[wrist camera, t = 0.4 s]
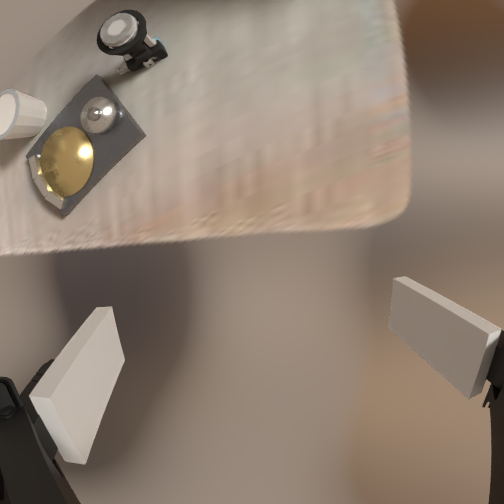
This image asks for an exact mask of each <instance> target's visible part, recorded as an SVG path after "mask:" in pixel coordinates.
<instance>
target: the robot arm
mask: <svg viewBox="0 0 504 504" xmlns="http://www.w3.org/2000/svg"><path fill="white" fill-rule="evenodd" d="M388 329H389V330H390V331H392V332H393V333H394V334H395V335H396V336H397V337H398V338H400V339H401V340H402V341H403V342H404V343H405V344H407V345H408V346H409V347H410V348H411V349H412V350H413V351H415V352H416V353H417V354H418V355H419V356H420V357H421V358H423V359H424V360H425V361H426V362H427V363H428V364H429V365H431V366H432V367H433V368H434V369H435V370H436V371H437V372H439V373H440V374H441V375H442V376H443V377H444V378H445V379H447V380H448V381H449V382H450V383H451V384H452V385H453V386H454V387H456V388H457V389H458V390H459V391H460V392H461V393H462V394H463V395H464V396H466V397H467V398H468V399H470V398H472V397H474V396H476V395H478V394H479V393H481V392H482V389H483V387H484V384H485V381H486V379H487V380H488V381H490V382H491V385H490V388H489V390H488V393H487V395H486V398H485V401H484V403H483V407H485V405H486V403H487V402H490V404H489V406H488V407H489V408H490V416H491V438H492V439H491V445H492V456H491V457H492V458H491V484H490V495H489V504H504V331H503V330H501V329H500V328H499V327H497V326H495V325H494V324H492V323H490V322H488V321H487V320H485V319H483V318H481V317H480V316H478V315H476V314H474V313H473V312H471V311H469V310H467V309H465V308H463V307H462V306H460V305H458V304H456V303H454V302H453V301H450V300H449V299H447V298H445V297H443V296H442V295H440V294H438V293H436V292H434V291H432V290H430V289H429V288H426V287H425V286H423V285H421V284H419V283H417V282H415V281H413V280H411V279H410V278H407V277H399V278H393V289H392V300H391V309H390V319H389V327H388ZM124 361H125V359H124V356H123V352H122V348H121V344H120V340H119V336H118V332H117V328H116V323H115V319H114V314H113V310H112V307H97V308H96V309H95V310H94V311H93V312H92V314H91V315H90V316H89V318H87V320H86V321H85V322H84V323H83V325H82V326H81V327H80V328H79V330H78V331H77V332H76V333H75V335H74V336H73V337H72V338H71V340H70V341H69V342H68V343H67V345H66V346H65V348H64V349H63V350H62V351H61V353H60V354H59V355H58V356H57V358H56V359H51V360H50V361H48V362H47V363H45V364H44V365H43V366H42V367H41V368H40V369H39V370H38V372H37V373H36V375H35V376H34V377H33V378H32V380H31V382H29V384H28V385H27V386H26V388H25V389H24V390H23V392H22V393H21V394H20V396H19V394H18V392H17V390H16V387H15V385H14V383H13V381H12V380H11V379H9V378H7V377H0V504H81V503H80V502H79V500H78V499H77V497H76V495H75V493H74V492H73V490H72V489H71V487H70V485H69V483H68V481H67V480H66V478H65V476H64V474H63V472H62V470H61V468H60V466H59V464H58V463H57V461H56V460H55V458H54V457H55V455H56V452H57V450H59V452H60V454H61V455H62V457H63V458H64V460H65V461H67V462H73V463H79V464H85V463H86V461H87V458H88V455H89V452H90V449H91V446H92V443H93V441H94V438H95V435H96V432H97V430H98V427H99V424H100V421H101V419H102V416H103V413H104V411H105V408H106V405H107V403H108V400H109V398H110V395H111V393H112V390H113V388H114V385H115V383H116V380H117V378H118V375H119V373H120V370H121V368H122V366H123V363H124Z"/></svg>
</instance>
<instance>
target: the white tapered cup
mask: <svg viewBox="0 0 504 504" xmlns="http://www.w3.org/2000/svg"><path fill="white" fill-rule="evenodd" d="M46 116H47V109H46V105H45V104H44V102H43V101H41V100H39V99H36V98H34V97H31V96H29V95H26V94H24V93H21V92H19V91H16V90H13V89H10V88H9V89H6V90H3V91H2V92H1V93H0V140H4V139H14V138H25V137H33V136H35V135H37V134H38V133H39V132H40V131H41V129H42V128H43V126H44V124H45V121H46Z"/></svg>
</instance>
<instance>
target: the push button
mask: <svg viewBox="0 0 504 504" xmlns="http://www.w3.org/2000/svg"><path fill="white" fill-rule="evenodd" d="M137 21H139V25H138V24H137ZM97 44H98V47H99V49H100V50H101V51H103V52H104V53H106V54H109V55H120V56H123V57H124V60H125V62H124V63H123V64H122V65H121V66H119V67H117V68H116V71H117V73H120V75H122V74H123V73H125V72H127V71H128V72H129V71H130V70H131V71H136V70H138V69H140V68H142V67H144V66H146V67H147V68H149V67H151V66H153V65H155V63H154V62H153V61H154V60H156V59H158V58H160V59H163V58H165V57H167V56H168V54H167V52H166V50H165V48H164V46H163V44H162V42H161V41H160V40H159V38H158V37H155V38H152V39H151V38H150V37H149V36H148V35H147V30H146V21H145V18H144V17H143V15H142V14H141V13H139V12H138V11H135V10H124V11H120V12H118V13H116V14H114V15H112V16H111V17H109V18H108V19H107V20H106V21H105V22H104V23H103V25H102V26H101V28H100V30H99V32H98V35H97ZM109 46H110V47H112V48H113V49H110V48H109ZM149 64H152V65H150V66H148V65H149ZM119 68H121V69H120V70H119ZM122 70H124V72H121V71H122Z"/></svg>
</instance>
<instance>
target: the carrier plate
mask: <svg viewBox="0 0 504 504" xmlns="http://www.w3.org/2000/svg"><path fill="white" fill-rule="evenodd" d="M145 136H146V135H145V133H144V132H143V131H142V129H141V128H140V127H139V126H138V124H137V123H136V122H135V120H134V119H133V118H132V116H131V115H130V114H129V113H128V111H127V110H126V109H125V107H124V106H123V105H122V103H121V102H120V101H119V99H118V98H117V97H116V96H115V94H114V93H113V92H112V90H111V89H110V88H109V86H108V85H107V84H106V82H105V81H104V80H103V78H102V77H100V76H98V75H96V76H95V77H94V78H93V79H92V80H91V81H90V82H89V83H88V84H87V85H86V86H85V87H84V88H83V89H82V90H81V91H80V92H79V93H78V94H77V95H76V96H75V97H74V98H73V99H72V100H71V101H70V102H69V104H68V105H67V106H66V107H65V108H64V109H63V110H62V111H61V113H60V114H59V115H58V116H57V117H56V118H55V120H54V121H53V122H52V123H51V124H50V126H49V127H48V128H47V129H46V130H45V132H44V133H43V134H42V135H41V137H40V138H39V139H38V141H37V142H36V143H35V144H34V146H33V147H32V148H31V150H30V151H29V152H28V154H27V155H26V158H27V159H28V161H29V164H30V168H31V173H32V178H33V179H35V180H34V182H35V184H36V185H37V187H38V188H39V190H40V192H41V193H42V195H43V196H44V197H45V199H46V200H47V201H49V202H50V203H52V204H53V205H54V206H56V207H57V208H58V209H59V211H60V212H61V214H62V215H63V216H64V215H68V214H69V213H70V212H71V211H72V210H73V209H74V208H75V207H76V205H77V204H78V203H79V202H80V201H81V200H82V199H83V198H84V197H85V195H86V194H87V193H88V192H89V191H90V190H91V189H92V188H93V187H94V186H95V185H96V184H97V183H98V182H99V181H100V180H101V179H102V178H103V176H104V175H105V174H106V173H107V172H108V171H109V170H110V169H111V168H112V167H113V166H114V165H115V164H116V163H117V162H119V161H120V160H121V159H122V158H123V157H124V156H125V155H126V154H127V153H128V152H129V151H130V150H131V149H132V148H133V147H134V146H135V145H136V144H138V143H139V142H140V141H141V140H142V139H143V138H144V137H145Z"/></svg>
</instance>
